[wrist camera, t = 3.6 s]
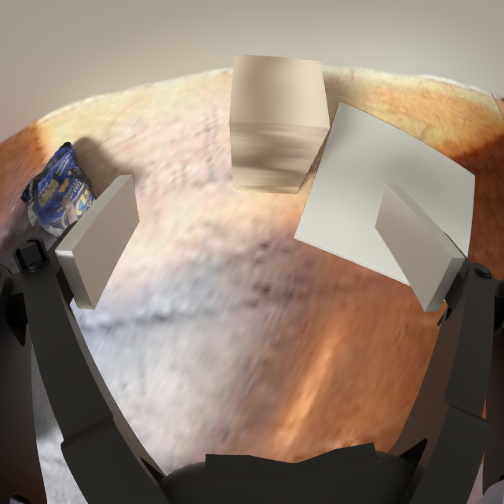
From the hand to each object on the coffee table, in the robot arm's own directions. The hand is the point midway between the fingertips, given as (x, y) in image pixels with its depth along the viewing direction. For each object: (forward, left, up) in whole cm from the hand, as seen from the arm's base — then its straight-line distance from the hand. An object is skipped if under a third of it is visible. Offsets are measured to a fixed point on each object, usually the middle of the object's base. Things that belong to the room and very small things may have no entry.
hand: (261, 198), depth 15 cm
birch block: (+2, -8, -13) cm, 15 cm away
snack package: (+21, +3, -13) cm, 25 cm away
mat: (-13, -10, -13) cm, 21 cm away
